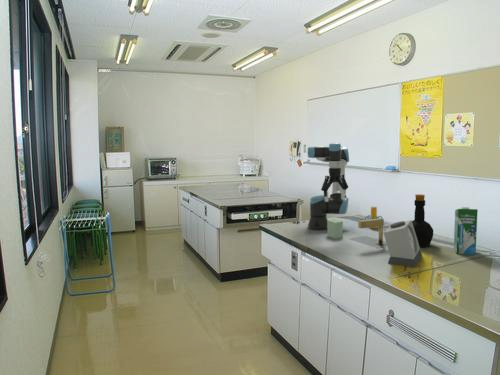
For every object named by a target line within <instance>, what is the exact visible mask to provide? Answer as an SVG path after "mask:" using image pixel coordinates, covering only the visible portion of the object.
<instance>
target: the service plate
mask: <svg viewBox="0 0 500 375" xmlns="http://www.w3.org/2000/svg"><path fill="white" fill-rule="evenodd" d="M349 240H351V241H354V242H357V243H360V244H364V245H365V246H366V245H367V246H370V247H373V248H376V249H380V248H385V247H387V243H386V240H383V244H379V238H378V239H377V238H375V237H371V236H368V235H363V236H357V237H351V238H349Z"/></svg>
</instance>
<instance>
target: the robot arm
mask: <svg viewBox="0 0 500 375" xmlns="http://www.w3.org/2000/svg"><path fill="white" fill-rule="evenodd" d="M307 157H308V158H309V159H316V160H317V161H320V162H323V163H328V174H329V175H325V177H324V180H323V183H322V186H321V188H320V190H321V191H322V192H323V195H316V196H312V197H311V198H310V200H309V202H310V203H309V205H310V206H309V208H310V211H309V212H310V213H309V214H310V215H309V216H310V217H309V221H308V224H307V228H308V230H309V229H310V230H313V231H314V230H315V231H322V230H323V231H325V230H327V221H328V218H327V214H329V215H345V214H347V212H348V208H349V198H348V197H347V195H346V191H347V190H348V189H349V186H348V185H349V184H348V183H347V180H346V166H347V165H348V163H349V162H350V156H349V148H348V147H347V146H342V145H341V143H339V142H338V143H337V142H336V143H334V142H333V143H328V145H326V146H309V147H307ZM331 186H332V187H331ZM330 187H331V188H332V190H331V194H330V195H329V189H330Z"/></svg>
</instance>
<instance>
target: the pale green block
mask: <svg viewBox="0 0 500 375" xmlns="http://www.w3.org/2000/svg"><path fill="white" fill-rule="evenodd" d="M327 220H328V219H327ZM343 223H344V222H343V221H342V220H339V219H329V220H328V221H327V229H326V230H327V233H326V234H327V237H329V238H332V239H334V240H335V239H341V238H344V236H343V232H344V230H343V229H344V228H343V226H344V224H343Z"/></svg>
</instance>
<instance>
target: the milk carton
mask: <svg viewBox="0 0 500 375" xmlns="http://www.w3.org/2000/svg"><path fill="white" fill-rule="evenodd" d="M478 211H479V210H478V209H477V208H470V207H466V206H465V207H464V206H463V207H461V208H457V209H455V211H454V230H453V233H454V234H453V236H454V238H453V239H454V240H453V250H454V252H455V254H456V255H468V256H476V253H477V235H478V234H477V232H478V229H477V228H478Z"/></svg>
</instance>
